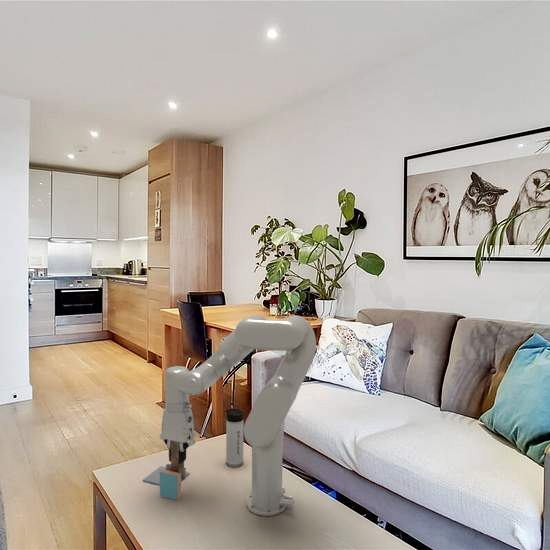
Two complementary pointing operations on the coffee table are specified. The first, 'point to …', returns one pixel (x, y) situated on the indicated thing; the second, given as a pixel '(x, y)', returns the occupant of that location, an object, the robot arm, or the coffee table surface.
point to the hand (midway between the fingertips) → (177, 460)
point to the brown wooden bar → (176, 460)
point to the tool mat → (156, 476)
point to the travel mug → (234, 437)
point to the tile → (170, 484)
